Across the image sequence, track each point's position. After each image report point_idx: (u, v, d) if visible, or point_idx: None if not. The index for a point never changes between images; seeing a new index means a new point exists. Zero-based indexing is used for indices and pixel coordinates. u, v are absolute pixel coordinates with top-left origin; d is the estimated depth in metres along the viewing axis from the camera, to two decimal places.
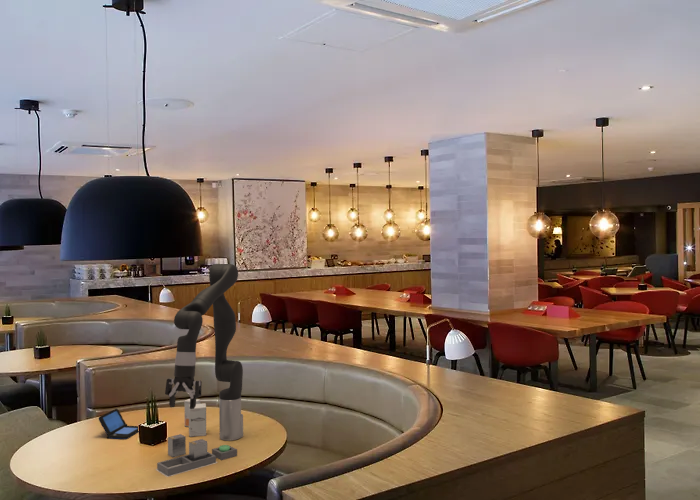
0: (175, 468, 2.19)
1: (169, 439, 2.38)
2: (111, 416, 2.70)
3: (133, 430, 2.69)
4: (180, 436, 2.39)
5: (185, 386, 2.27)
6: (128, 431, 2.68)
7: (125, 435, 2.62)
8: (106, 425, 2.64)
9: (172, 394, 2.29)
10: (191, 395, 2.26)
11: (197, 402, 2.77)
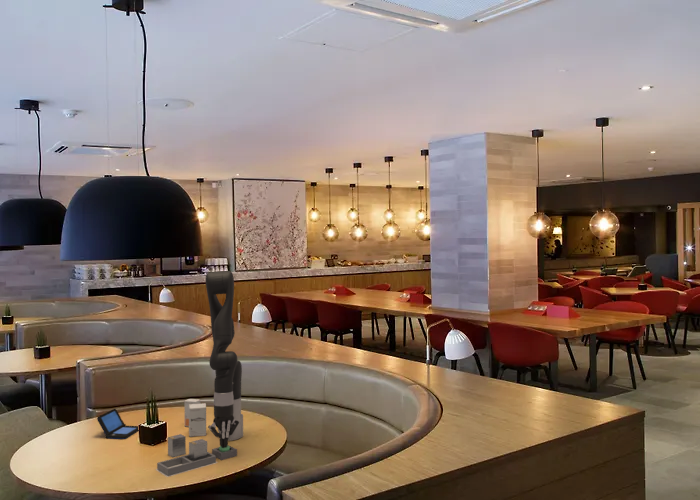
0: (175, 468, 2.19)
1: (169, 439, 2.38)
2: (109, 416, 2.70)
3: (132, 430, 2.69)
4: (180, 436, 2.39)
5: (229, 424, 2.37)
6: (127, 431, 2.68)
7: (124, 435, 2.62)
8: (104, 425, 2.64)
9: (224, 434, 2.36)
10: (226, 434, 2.37)
11: (197, 402, 2.77)
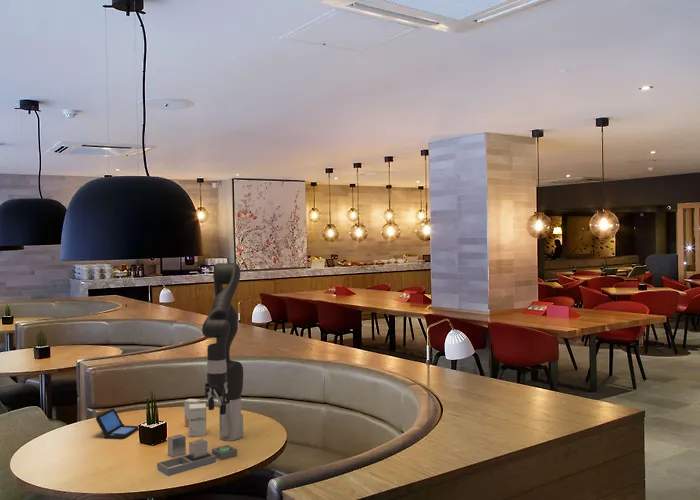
0: (175, 468, 2.19)
1: (169, 439, 2.38)
2: (108, 416, 2.70)
3: (130, 430, 2.69)
4: (180, 436, 2.39)
5: None
6: (125, 431, 2.68)
7: (123, 435, 2.62)
8: (103, 425, 2.64)
9: (224, 401, 2.36)
10: None
11: (197, 402, 2.77)
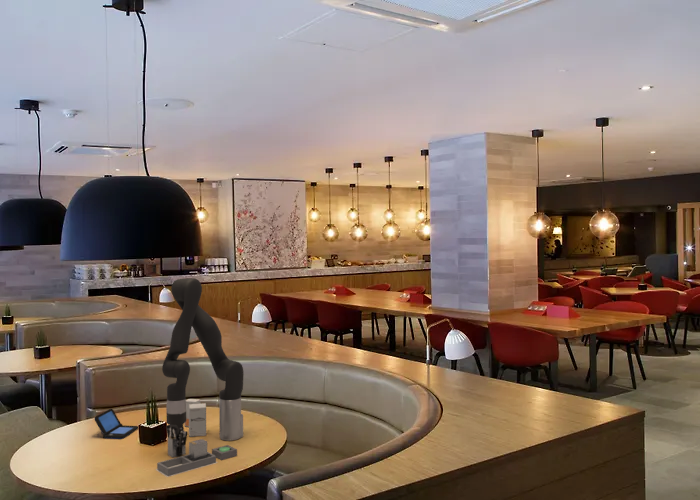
0: (175, 468, 2.19)
1: (169, 439, 2.38)
2: (106, 416, 2.70)
3: (129, 430, 2.69)
4: None
5: None
6: (124, 430, 2.68)
7: (121, 435, 2.62)
8: (102, 425, 2.64)
9: (181, 441, 2.38)
10: None
11: (197, 402, 2.77)
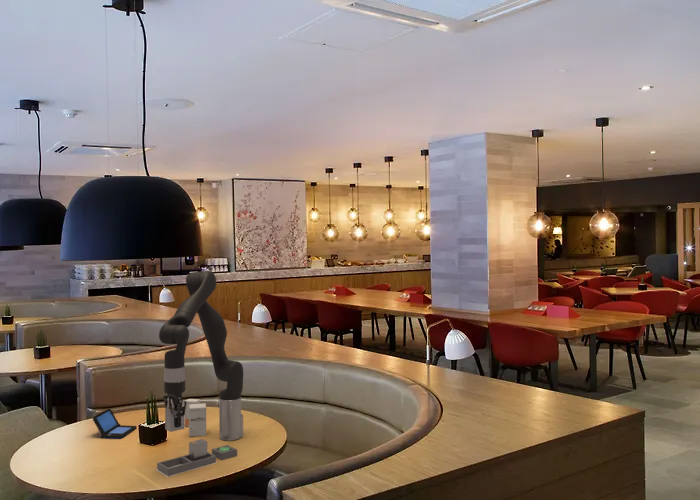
0: (175, 468, 2.19)
1: (166, 410, 2.22)
2: (104, 416, 2.70)
3: (127, 430, 2.69)
4: None
5: None
6: (122, 430, 2.68)
7: (120, 435, 2.63)
8: (100, 425, 2.64)
9: (180, 412, 2.23)
10: None
11: (197, 402, 2.77)
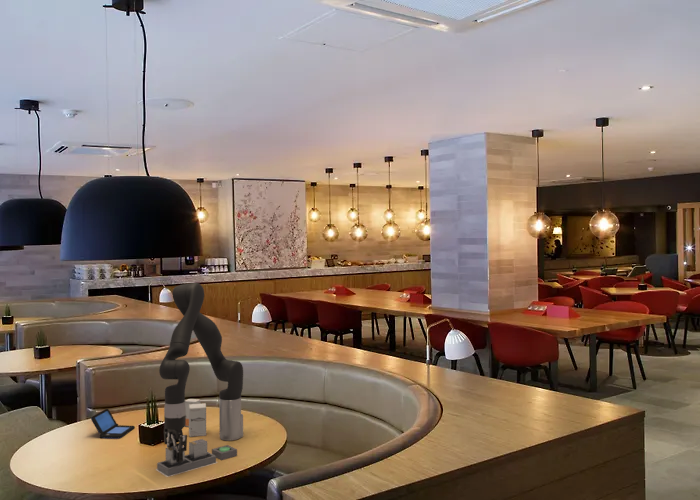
0: (175, 468, 2.19)
1: (167, 450, 2.22)
2: (102, 416, 2.70)
3: (125, 429, 2.70)
4: None
5: None
6: (121, 430, 2.68)
7: (118, 434, 2.63)
8: (98, 425, 2.64)
9: (182, 447, 2.22)
10: None
11: (197, 402, 2.77)
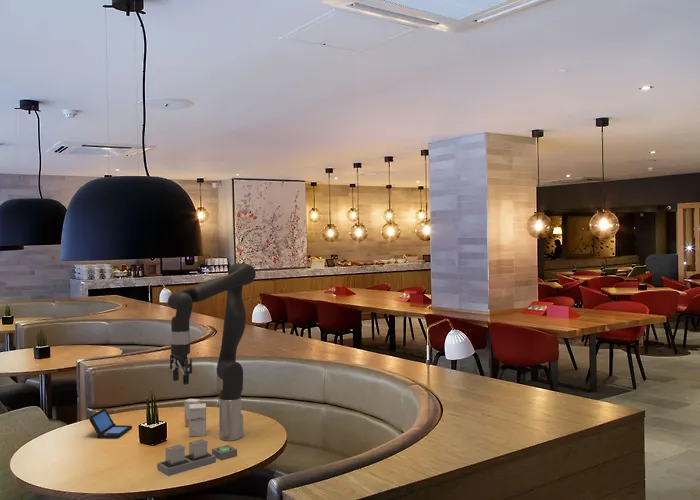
0: (175, 468, 2.19)
1: (167, 450, 2.22)
2: (100, 416, 2.70)
3: (123, 429, 2.70)
4: (179, 447, 2.24)
5: None
6: (118, 430, 2.68)
7: (116, 434, 2.63)
8: (96, 425, 2.64)
9: None
10: None
11: (197, 402, 2.77)
